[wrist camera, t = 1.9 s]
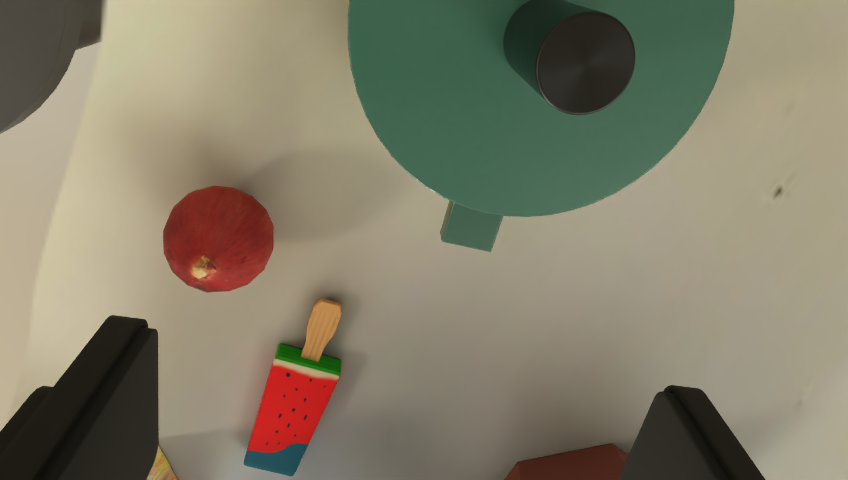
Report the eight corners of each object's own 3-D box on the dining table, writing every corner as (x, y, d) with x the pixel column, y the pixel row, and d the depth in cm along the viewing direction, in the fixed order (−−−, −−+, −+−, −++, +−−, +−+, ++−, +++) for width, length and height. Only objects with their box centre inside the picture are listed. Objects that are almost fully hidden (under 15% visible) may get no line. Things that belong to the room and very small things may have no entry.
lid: (317, 166, 25) (297, 232, 19) (399, -252, 19) (405, -340, 13) (631, 236, 28) (697, 315, 22) (790, -117, 22) (941, -141, 16)
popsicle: (363, 318, 39) (298, 478, 45) (364, 306, 40) (300, 463, 46) (295, 298, 38) (237, 464, 44) (298, 286, 39) (241, 449, 45)
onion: (261, 268, 38) (233, 342, 31) (172, 231, 37) (122, 300, 30) (297, 193, 36) (276, 253, 29) (205, 151, 35) (159, 203, 28)
